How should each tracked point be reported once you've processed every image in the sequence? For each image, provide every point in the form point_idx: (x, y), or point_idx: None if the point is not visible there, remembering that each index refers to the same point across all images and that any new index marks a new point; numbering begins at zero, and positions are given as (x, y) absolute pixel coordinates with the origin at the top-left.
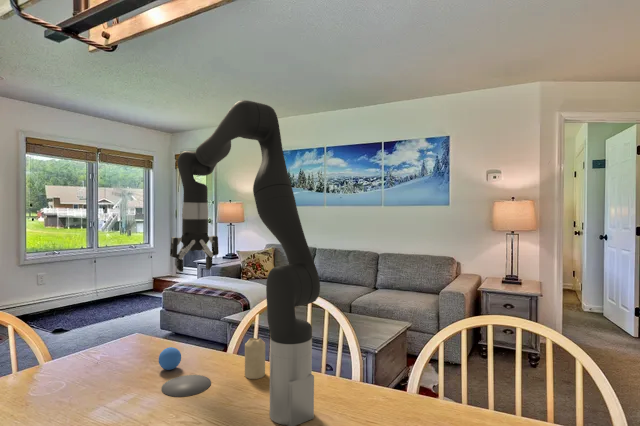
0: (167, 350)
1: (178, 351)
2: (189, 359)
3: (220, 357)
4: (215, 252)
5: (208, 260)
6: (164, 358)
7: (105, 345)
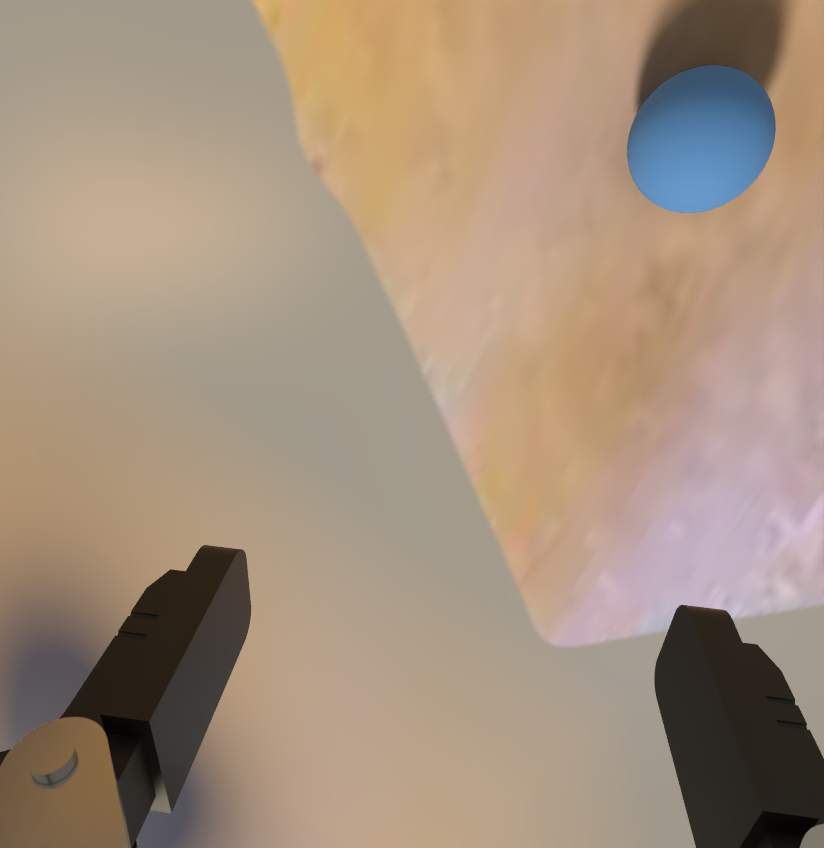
0: (747, 129)
1: (671, 112)
2: (527, 202)
3: (377, 106)
4: None
5: (178, 670)
6: (769, 99)
7: None
